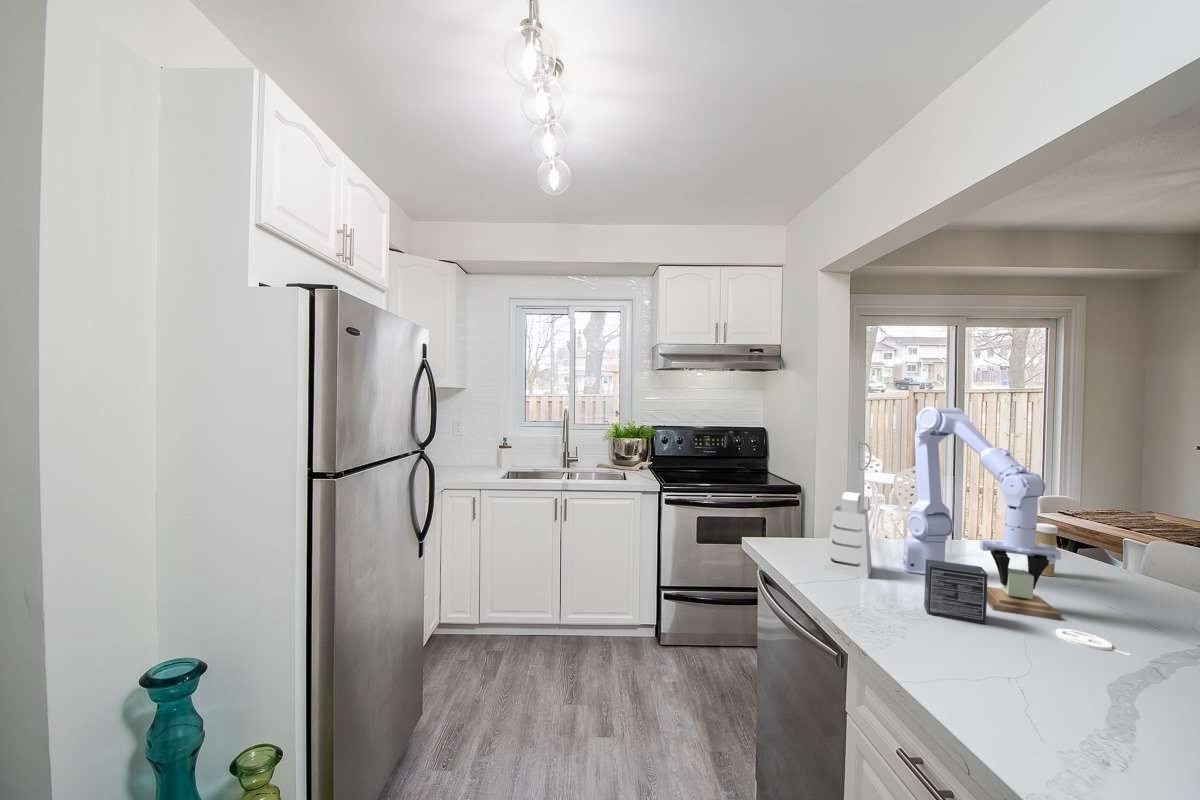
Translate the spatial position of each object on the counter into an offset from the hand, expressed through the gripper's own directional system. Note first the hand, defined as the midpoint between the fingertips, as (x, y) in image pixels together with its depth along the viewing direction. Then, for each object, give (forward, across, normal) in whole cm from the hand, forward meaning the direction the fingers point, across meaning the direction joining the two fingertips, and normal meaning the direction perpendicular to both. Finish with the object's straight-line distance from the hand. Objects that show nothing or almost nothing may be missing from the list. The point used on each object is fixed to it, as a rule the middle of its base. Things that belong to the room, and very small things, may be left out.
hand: (1017, 585), depth 121 cm
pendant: (+5, +7, -17) cm, 19 cm away
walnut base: (+4, 0, 0) cm, 4 cm away
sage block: (+2, 0, 0) cm, 2 cm away
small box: (+5, -15, -13) cm, 20 cm away
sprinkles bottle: (+5, +16, +32) cm, 36 cm away
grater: (+5, -34, +10) cm, 36 cm away
